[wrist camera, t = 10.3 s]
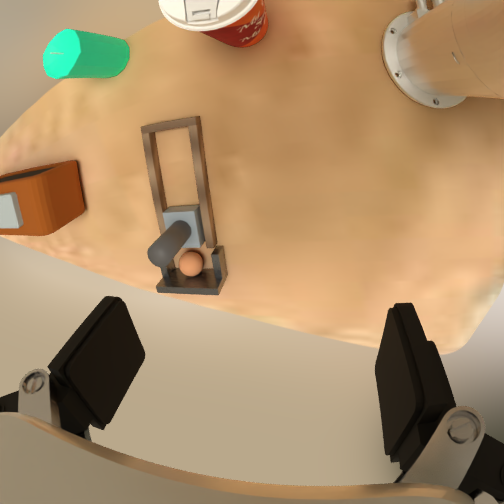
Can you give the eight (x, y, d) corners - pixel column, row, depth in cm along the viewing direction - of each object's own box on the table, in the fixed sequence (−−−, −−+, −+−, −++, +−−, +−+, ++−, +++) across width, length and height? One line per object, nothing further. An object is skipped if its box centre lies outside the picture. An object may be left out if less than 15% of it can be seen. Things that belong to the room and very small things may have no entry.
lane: (146, 125, 35) (140, 126, 33) (199, 116, 33) (195, 116, 32) (168, 243, 42) (163, 248, 41) (217, 242, 41) (213, 248, 40)
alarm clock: (81, 158, 38) (28, 180, 28) (90, 209, 42) (43, 241, 32) (2, 174, 42) (-39, 194, 32) (11, 213, 46) (-28, 237, 36)
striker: (169, 206, 40) (136, 235, 31) (200, 204, 39) (171, 234, 30) (176, 240, 42) (147, 275, 34) (205, 239, 41) (181, 276, 33)
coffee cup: (277, 56, 29) (259, 23, 16) (207, 58, 30) (147, 35, 17) (278, -5, 25) (260, -65, 12) (209, -1, 26) (155, -49, 13)
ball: (172, 263, 39) (179, 281, 42) (196, 263, 39) (202, 281, 41) (180, 246, 42) (186, 264, 44) (202, 246, 41) (208, 264, 43)
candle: (91, 77, 32) (30, 80, 22) (99, 38, 29) (39, 30, 19) (125, 78, 32) (64, 78, 21) (134, 37, 29) (75, 24, 19)
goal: (164, 246, 43) (149, 263, 38) (223, 246, 41) (213, 264, 37) (170, 273, 45) (157, 292, 41) (227, 274, 43) (218, 295, 39)
